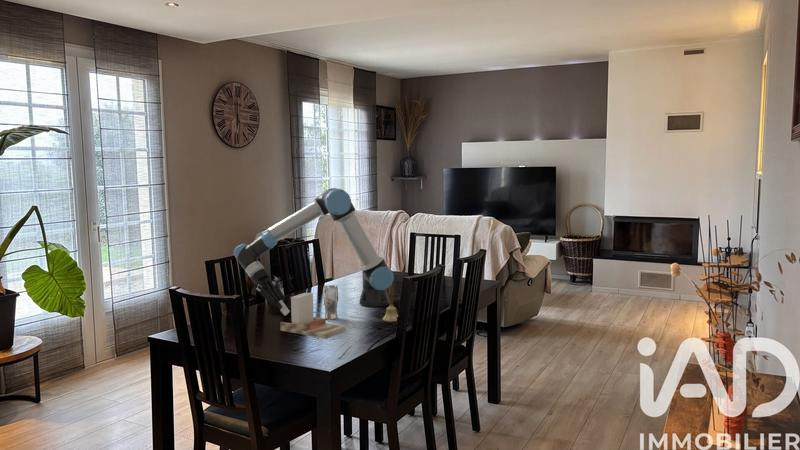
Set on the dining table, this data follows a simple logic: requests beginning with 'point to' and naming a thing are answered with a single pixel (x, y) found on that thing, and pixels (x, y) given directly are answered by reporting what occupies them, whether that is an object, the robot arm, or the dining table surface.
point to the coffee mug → (272, 308)
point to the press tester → (312, 328)
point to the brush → (391, 308)
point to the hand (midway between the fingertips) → (287, 313)
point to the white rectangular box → (302, 308)
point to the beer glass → (330, 301)
